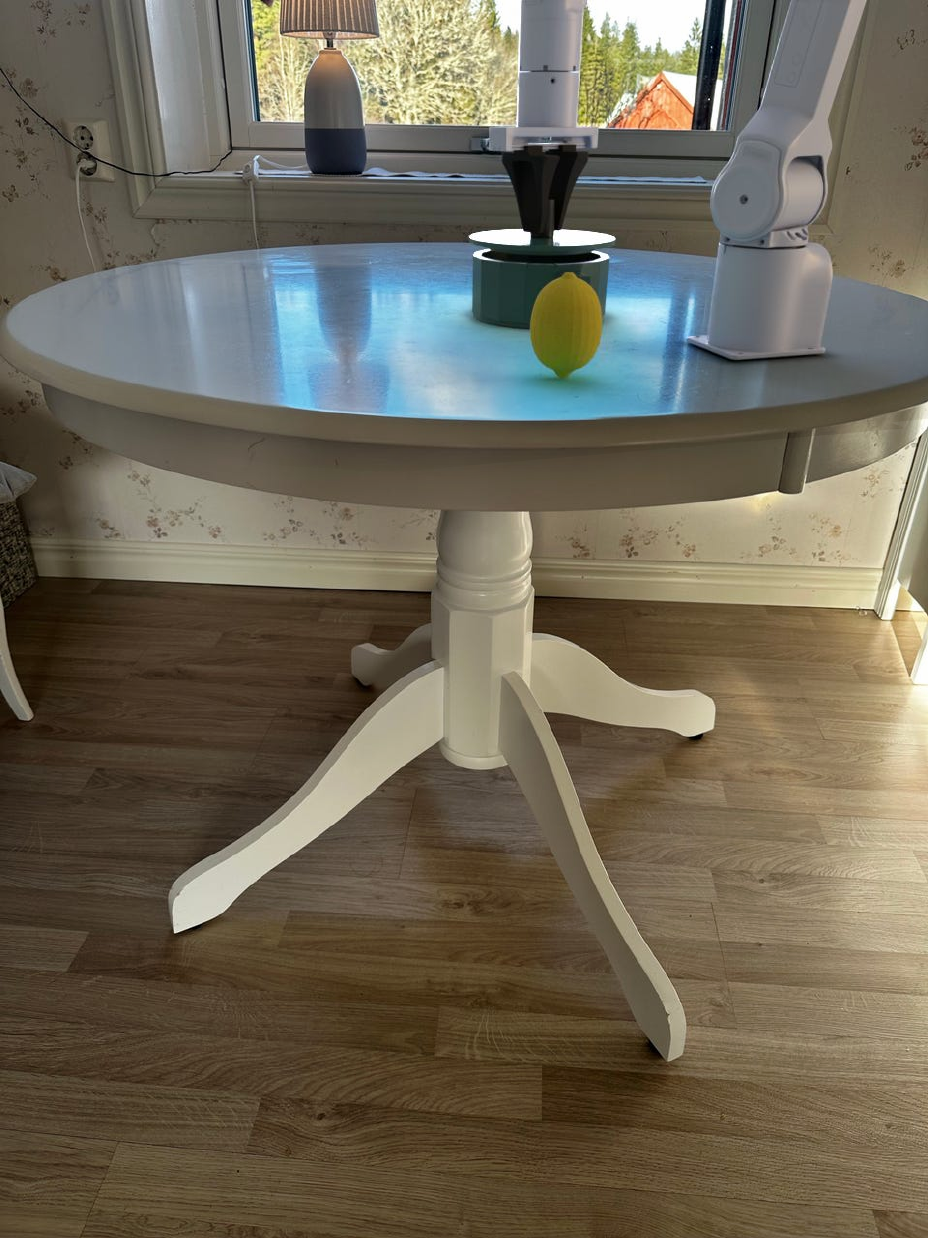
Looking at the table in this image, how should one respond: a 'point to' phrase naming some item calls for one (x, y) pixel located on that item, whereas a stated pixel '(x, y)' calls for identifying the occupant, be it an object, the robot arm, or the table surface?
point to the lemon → (566, 324)
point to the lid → (542, 239)
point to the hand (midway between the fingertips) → (542, 231)
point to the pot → (527, 282)
